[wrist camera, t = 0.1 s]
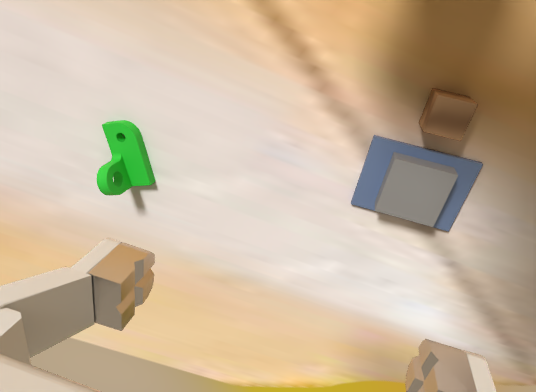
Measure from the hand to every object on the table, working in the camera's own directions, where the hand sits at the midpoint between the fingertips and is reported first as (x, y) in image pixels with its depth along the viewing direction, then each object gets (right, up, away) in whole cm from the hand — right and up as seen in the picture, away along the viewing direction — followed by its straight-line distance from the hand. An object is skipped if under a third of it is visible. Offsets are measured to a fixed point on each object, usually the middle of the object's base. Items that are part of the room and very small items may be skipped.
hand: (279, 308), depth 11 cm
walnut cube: (+25, +16, +42) cm, 51 cm away
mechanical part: (-25, +12, +58) cm, 64 cm away
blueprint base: (+22, +5, +48) cm, 53 cm away
